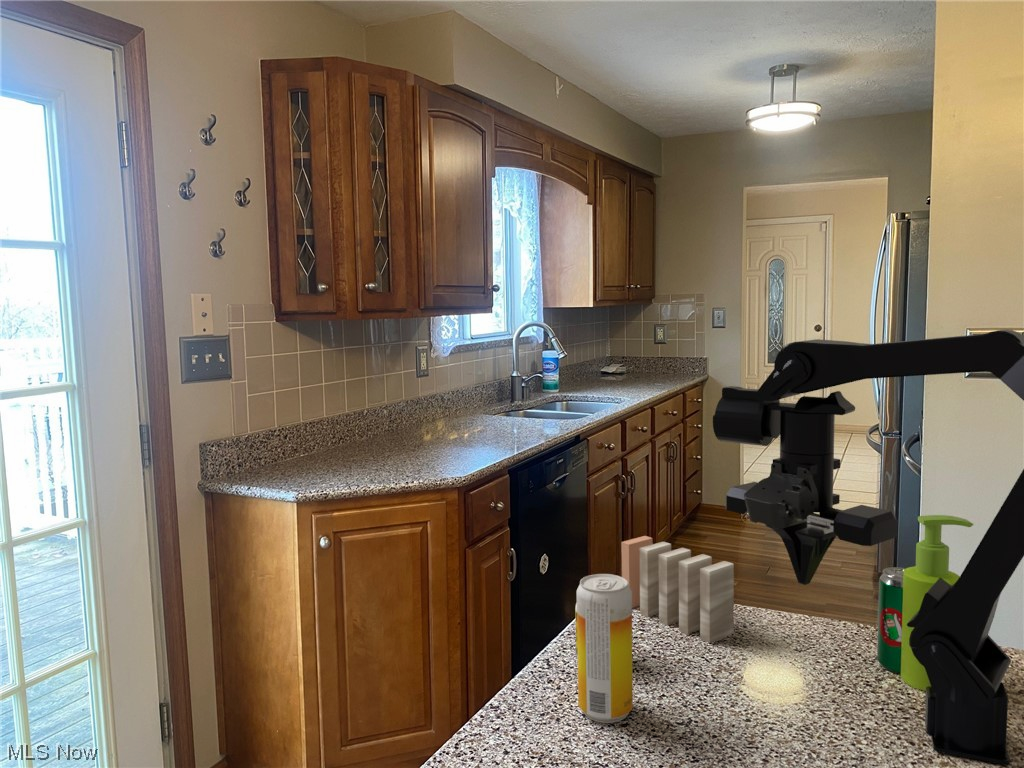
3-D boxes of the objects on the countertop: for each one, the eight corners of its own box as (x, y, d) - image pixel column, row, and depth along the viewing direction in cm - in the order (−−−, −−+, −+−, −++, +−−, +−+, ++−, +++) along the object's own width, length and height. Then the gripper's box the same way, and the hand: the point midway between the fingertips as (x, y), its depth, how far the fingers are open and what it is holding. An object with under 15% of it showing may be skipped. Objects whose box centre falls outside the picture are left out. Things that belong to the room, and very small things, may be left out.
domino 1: (653, 601, 116) (652, 538, 115) (629, 609, 113) (628, 544, 112) (645, 598, 117) (644, 535, 116) (622, 605, 114) (621, 542, 113)
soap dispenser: (975, 695, 86) (981, 525, 84) (910, 691, 87) (915, 523, 85) (954, 671, 91) (960, 511, 89) (893, 667, 93) (898, 509, 91)
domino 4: (711, 625, 106) (711, 556, 105) (687, 634, 104) (687, 564, 103) (702, 621, 108) (702, 553, 107) (679, 630, 105) (678, 561, 104)
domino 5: (733, 634, 103) (733, 563, 102) (709, 644, 100) (709, 571, 100) (724, 630, 105) (724, 560, 104) (700, 640, 102) (700, 568, 101)
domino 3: (690, 616, 110) (690, 550, 109) (667, 625, 107) (666, 557, 106) (682, 613, 111) (682, 547, 110) (658, 621, 108) (658, 554, 107)
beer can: (635, 700, 86) (634, 574, 85) (629, 728, 81) (628, 594, 79) (583, 694, 88) (581, 570, 87) (574, 721, 82) (571, 589, 81)
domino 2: (671, 608, 113) (671, 544, 112) (647, 617, 110) (647, 550, 109) (663, 605, 114) (663, 541, 113) (640, 613, 111) (639, 548, 110)
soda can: (907, 656, 95) (910, 565, 94) (931, 675, 90) (935, 579, 89) (869, 658, 95) (871, 566, 94) (891, 677, 90) (893, 581, 89)
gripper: (695, 447, 88) (694, 575, 90) (841, 474, 73) (838, 628, 74) (755, 437, 94) (754, 557, 96) (902, 459, 79) (898, 602, 81)
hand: (804, 583), depth 87 cm, fingers closed
